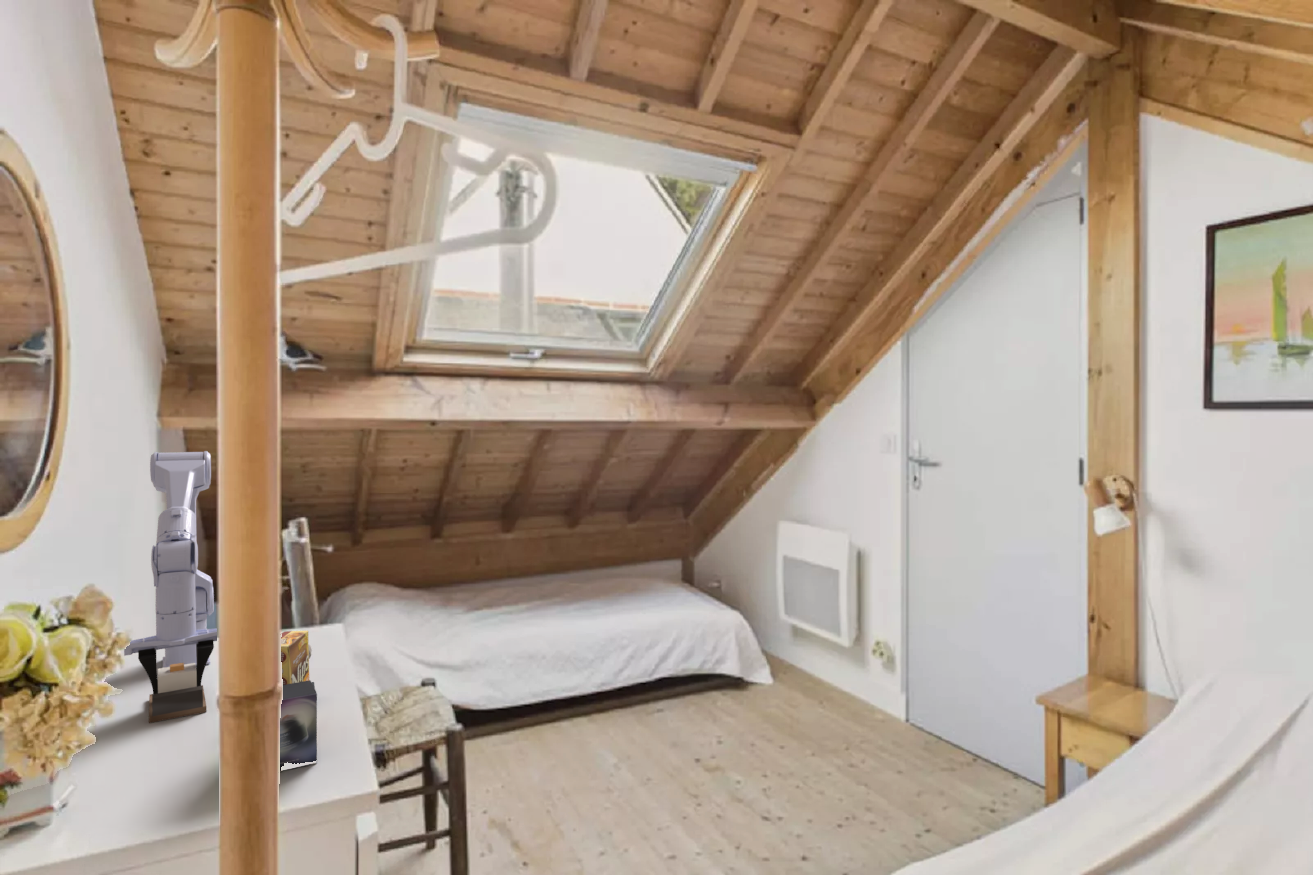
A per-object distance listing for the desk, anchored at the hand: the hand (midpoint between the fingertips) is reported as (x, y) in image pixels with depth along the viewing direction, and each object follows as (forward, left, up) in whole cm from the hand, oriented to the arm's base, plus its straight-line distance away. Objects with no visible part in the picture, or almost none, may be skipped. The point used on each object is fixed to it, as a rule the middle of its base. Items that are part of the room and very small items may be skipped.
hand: (177, 688), depth 125 cm
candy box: (+24, +14, -3) cm, 28 cm away
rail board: (0, 0, -3) cm, 3 cm away
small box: (+34, +11, -3) cm, 35 cm away
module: (0, 0, -2) cm, 2 cm away
